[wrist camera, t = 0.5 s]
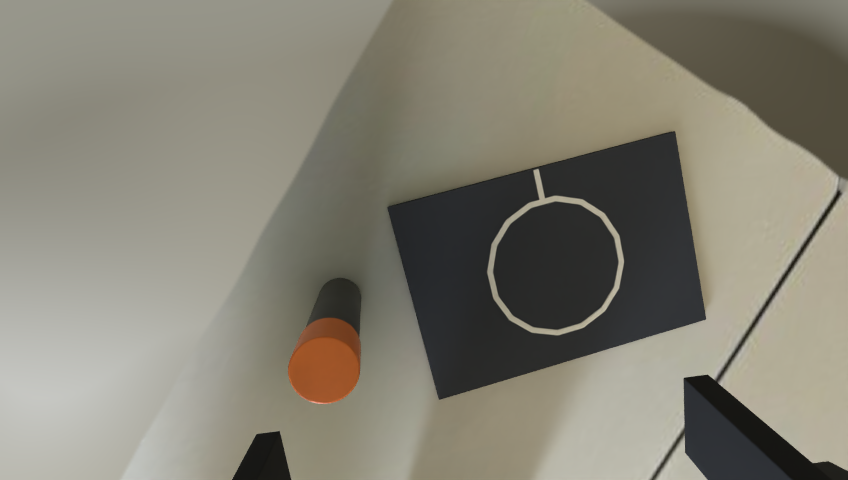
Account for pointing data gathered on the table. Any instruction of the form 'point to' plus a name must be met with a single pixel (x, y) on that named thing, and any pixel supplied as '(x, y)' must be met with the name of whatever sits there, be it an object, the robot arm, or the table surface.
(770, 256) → the table surface
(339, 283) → the marker
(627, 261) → the desk mat
